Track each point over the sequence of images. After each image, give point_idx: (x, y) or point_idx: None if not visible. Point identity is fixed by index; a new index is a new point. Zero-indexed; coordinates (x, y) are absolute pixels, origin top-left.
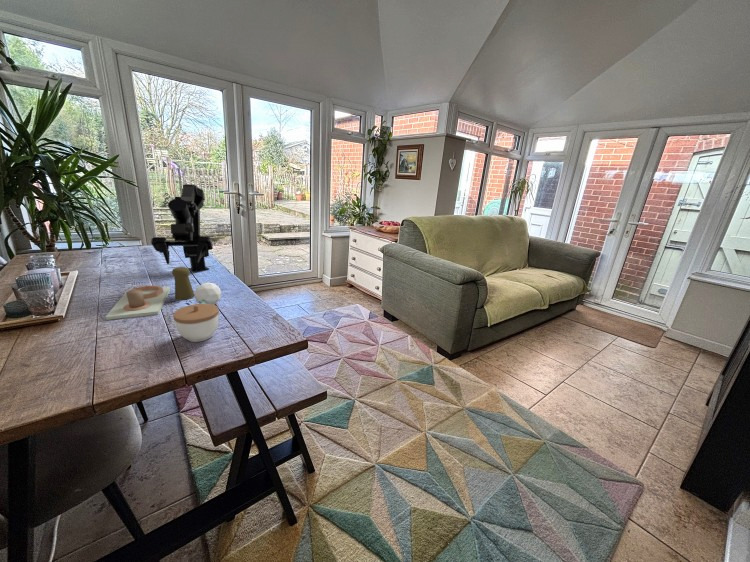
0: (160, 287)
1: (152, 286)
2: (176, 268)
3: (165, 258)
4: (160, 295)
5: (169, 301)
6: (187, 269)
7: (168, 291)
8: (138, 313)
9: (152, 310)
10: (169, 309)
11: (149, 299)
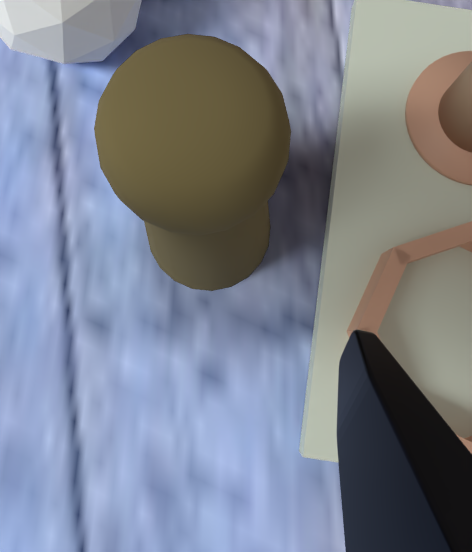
0: None
1: None
2: (236, 95)
3: (418, 396)
4: (361, 265)
5: (302, 183)
6: (108, 85)
7: (313, 354)
8: (452, 7)
9: (386, 18)
10: (299, 52)
11: (423, 210)
